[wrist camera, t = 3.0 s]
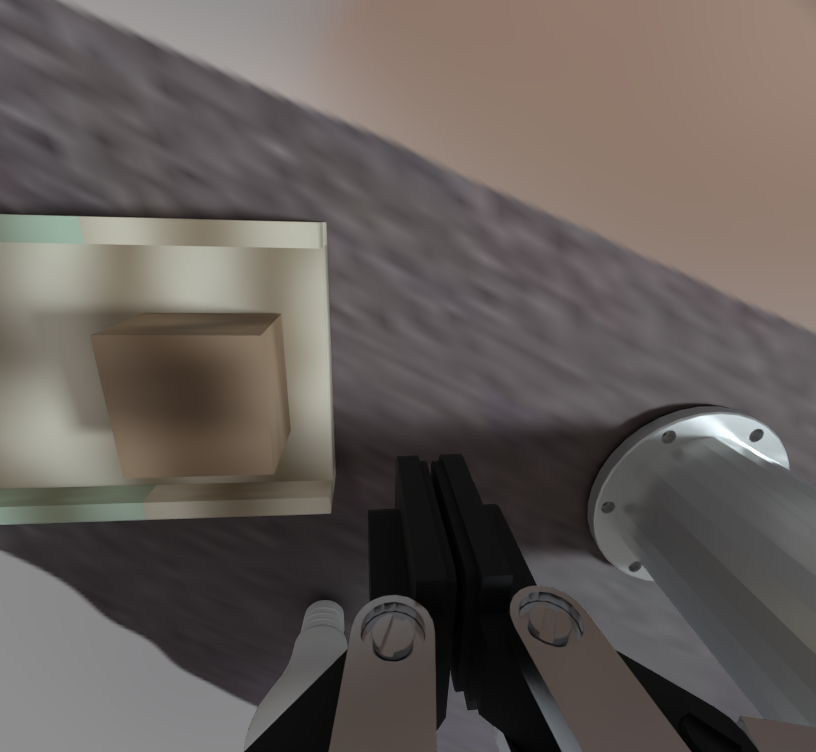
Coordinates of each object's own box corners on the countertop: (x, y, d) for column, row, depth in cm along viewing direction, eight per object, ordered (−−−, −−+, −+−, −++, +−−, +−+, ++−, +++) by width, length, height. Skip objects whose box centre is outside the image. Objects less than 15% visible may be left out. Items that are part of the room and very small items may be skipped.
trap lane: (326, 222, 20) (318, 222, 17) (336, 475, 25) (330, 513, 22) (-217, 208, 18) (-346, 205, 15) (-94, 486, 23) (-172, 530, 20)
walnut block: (281, 313, 20) (260, 335, 16) (290, 430, 22) (274, 474, 18) (144, 312, 19) (89, 335, 15) (167, 432, 21) (123, 478, 17)
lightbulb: (300, 556, 27) (258, 766, 17) (387, 585, 28) (397, 795, 18) (264, 623, 28) (204, 852, 18) (347, 648, 30) (336, 872, 20)
